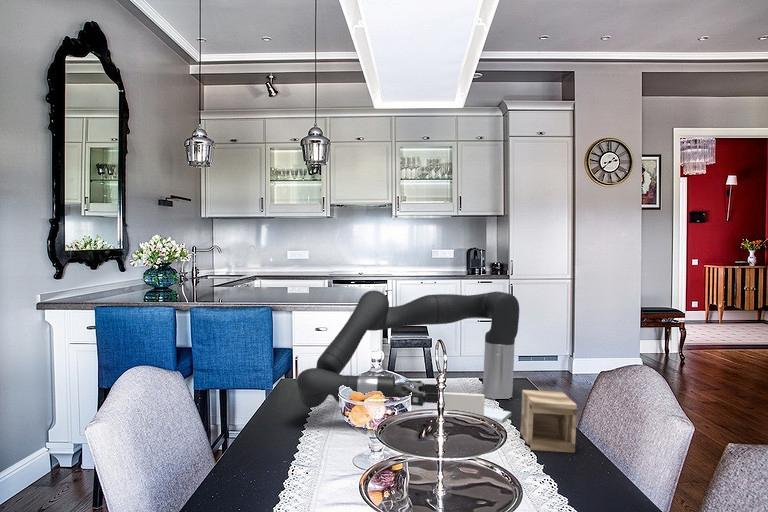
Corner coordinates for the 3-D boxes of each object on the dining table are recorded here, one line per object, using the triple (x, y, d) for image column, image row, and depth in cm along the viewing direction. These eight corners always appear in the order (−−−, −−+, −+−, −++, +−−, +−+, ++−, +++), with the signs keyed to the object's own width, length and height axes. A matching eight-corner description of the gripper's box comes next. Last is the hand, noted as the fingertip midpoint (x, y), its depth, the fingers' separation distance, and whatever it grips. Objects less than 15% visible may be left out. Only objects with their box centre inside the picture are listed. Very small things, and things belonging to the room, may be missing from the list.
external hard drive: (502, 425, 136) (458, 415, 142) (511, 417, 143) (469, 408, 149) (502, 419, 136) (459, 409, 142) (511, 411, 143) (469, 403, 149)
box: (520, 432, 129) (522, 389, 128) (560, 435, 128) (562, 391, 128) (531, 449, 117) (533, 402, 117) (574, 452, 117) (576, 405, 117)
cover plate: (438, 428, 129) (440, 392, 129) (482, 431, 129) (483, 394, 129) (439, 431, 128) (440, 393, 128) (483, 433, 127) (484, 396, 127)
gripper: (377, 397, 136) (437, 400, 135) (373, 414, 122) (441, 417, 121) (378, 369, 136) (438, 372, 135) (374, 383, 122) (442, 386, 121)
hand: (440, 393), depth 128 cm, fingers open, 8 cm apart
